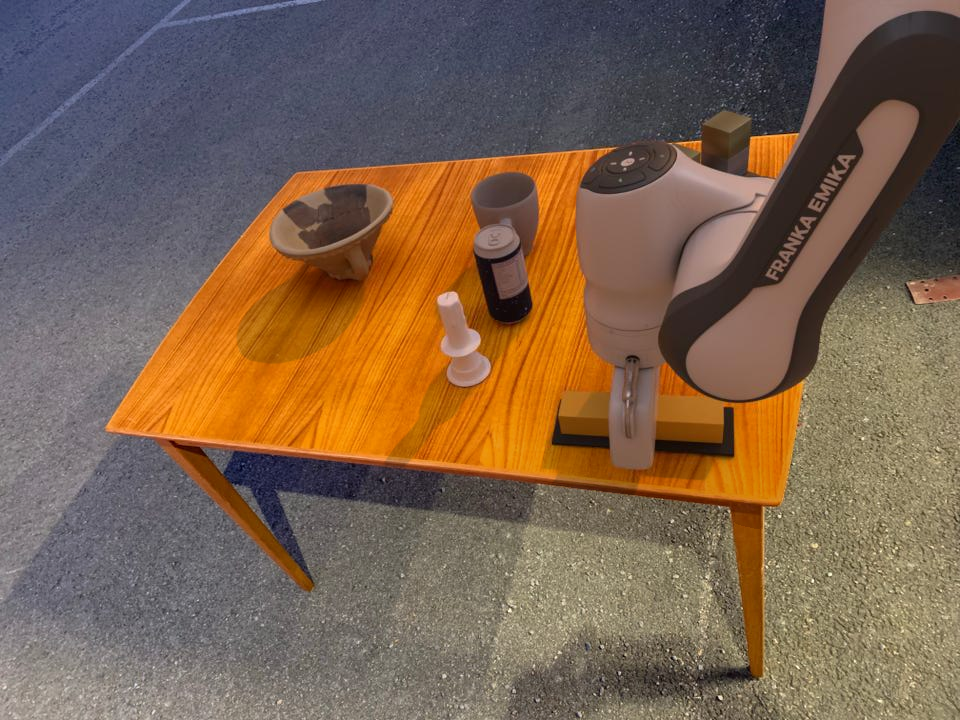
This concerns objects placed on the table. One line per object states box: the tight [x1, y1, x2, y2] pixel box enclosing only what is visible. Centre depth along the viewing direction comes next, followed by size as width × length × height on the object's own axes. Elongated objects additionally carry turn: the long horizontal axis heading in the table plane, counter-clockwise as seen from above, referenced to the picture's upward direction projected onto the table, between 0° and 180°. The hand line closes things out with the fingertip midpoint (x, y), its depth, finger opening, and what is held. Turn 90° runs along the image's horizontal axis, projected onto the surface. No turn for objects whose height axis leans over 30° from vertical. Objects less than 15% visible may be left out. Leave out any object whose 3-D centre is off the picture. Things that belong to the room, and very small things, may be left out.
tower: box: [671, 109, 761, 177], centre depth 94 cm, size 8×15×10 cm, turn 128°
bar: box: [558, 390, 725, 443], centre depth 71 cm, size 4×16×3 cm, turn 77°
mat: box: [551, 398, 736, 458], centre depth 72 cm, size 18×6×1 cm, turn 77°
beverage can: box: [472, 224, 534, 325], centre depth 85 cm, size 6×6×12 cm
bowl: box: [268, 183, 394, 282], centre depth 100 cm, size 18×18×10 cm
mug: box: [470, 171, 540, 257], centre depth 94 cm, size 12×9×10 cm
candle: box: [436, 291, 492, 388], centre depth 79 cm, size 5×5×12 cm
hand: (641, 419), depth 71 cm, fingers open, 8 cm apart
